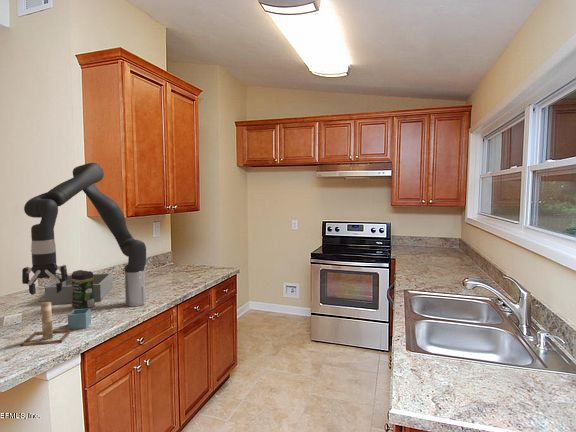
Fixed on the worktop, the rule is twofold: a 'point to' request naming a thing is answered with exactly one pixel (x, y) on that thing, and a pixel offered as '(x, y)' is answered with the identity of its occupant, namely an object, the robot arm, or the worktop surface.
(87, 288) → the coffee jar
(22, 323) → the worktop surface
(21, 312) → the worktop surface
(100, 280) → the grey open bin
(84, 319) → the blue open box
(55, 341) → the tray
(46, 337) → the dowel
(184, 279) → the worktop surface
